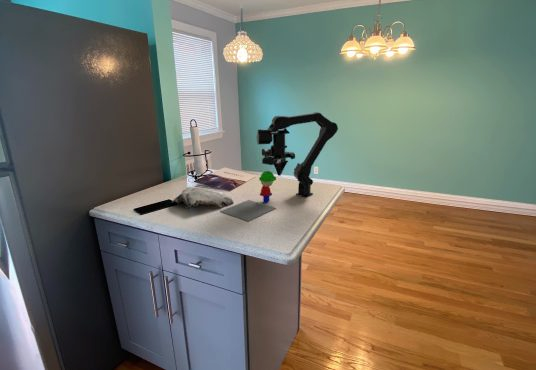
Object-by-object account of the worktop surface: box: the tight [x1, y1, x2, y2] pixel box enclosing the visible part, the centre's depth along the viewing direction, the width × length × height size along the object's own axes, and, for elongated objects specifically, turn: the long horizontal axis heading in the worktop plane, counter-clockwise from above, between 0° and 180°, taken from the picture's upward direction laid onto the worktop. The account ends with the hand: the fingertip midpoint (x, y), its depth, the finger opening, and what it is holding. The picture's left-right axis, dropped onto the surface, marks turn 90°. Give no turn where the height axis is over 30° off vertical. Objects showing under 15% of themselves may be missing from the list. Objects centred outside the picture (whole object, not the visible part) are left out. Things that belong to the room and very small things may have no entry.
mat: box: [219, 199, 277, 223], centre depth 133 cm, size 18×17×1 cm
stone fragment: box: [170, 186, 235, 209], centre depth 143 cm, size 25×29×6 cm
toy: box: [258, 170, 277, 204], centre depth 140 cm, size 8×8×15 cm
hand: (279, 175), depth 146 cm, fingers closed
